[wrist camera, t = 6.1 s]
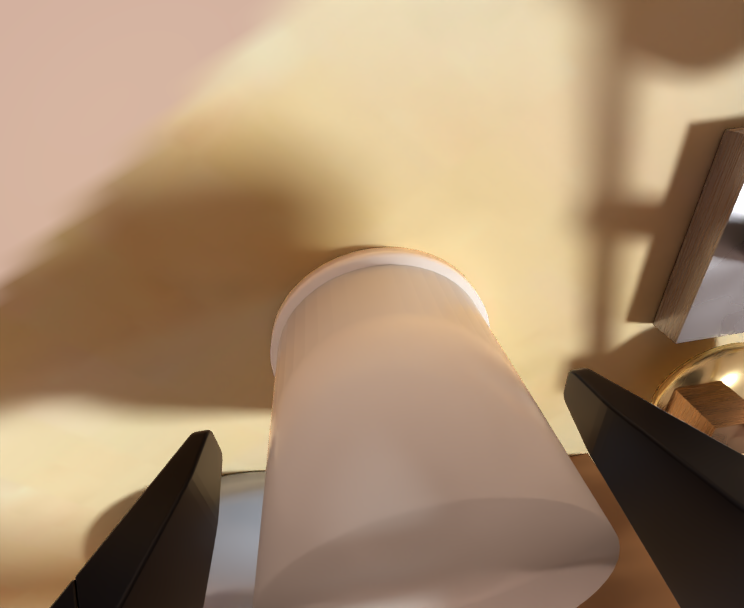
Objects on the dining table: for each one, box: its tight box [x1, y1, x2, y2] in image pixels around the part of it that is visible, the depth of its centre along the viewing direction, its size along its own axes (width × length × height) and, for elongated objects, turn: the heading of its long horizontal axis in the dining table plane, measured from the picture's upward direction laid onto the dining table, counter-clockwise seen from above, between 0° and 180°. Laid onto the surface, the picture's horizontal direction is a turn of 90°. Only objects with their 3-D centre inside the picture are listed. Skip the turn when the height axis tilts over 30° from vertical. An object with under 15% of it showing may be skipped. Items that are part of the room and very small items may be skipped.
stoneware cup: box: [253, 247, 620, 608], centre depth 9 cm, size 6×6×7 cm
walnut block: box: [570, 453, 680, 608], centre depth 16 cm, size 4×4×6 cm
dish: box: [203, 471, 266, 608], centre depth 18 cm, size 12×12×1 cm
